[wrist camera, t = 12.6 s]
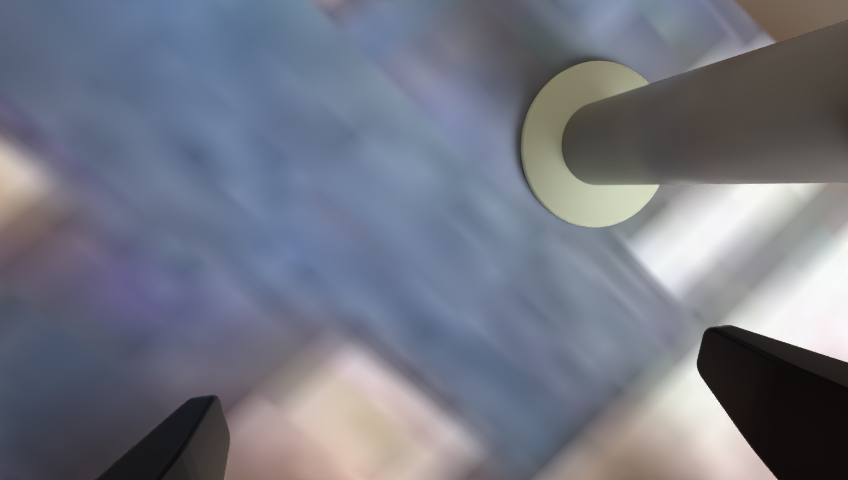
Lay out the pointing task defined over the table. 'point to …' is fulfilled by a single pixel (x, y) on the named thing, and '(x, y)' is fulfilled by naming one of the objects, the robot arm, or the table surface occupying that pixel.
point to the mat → (545, 147)
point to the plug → (725, 121)
